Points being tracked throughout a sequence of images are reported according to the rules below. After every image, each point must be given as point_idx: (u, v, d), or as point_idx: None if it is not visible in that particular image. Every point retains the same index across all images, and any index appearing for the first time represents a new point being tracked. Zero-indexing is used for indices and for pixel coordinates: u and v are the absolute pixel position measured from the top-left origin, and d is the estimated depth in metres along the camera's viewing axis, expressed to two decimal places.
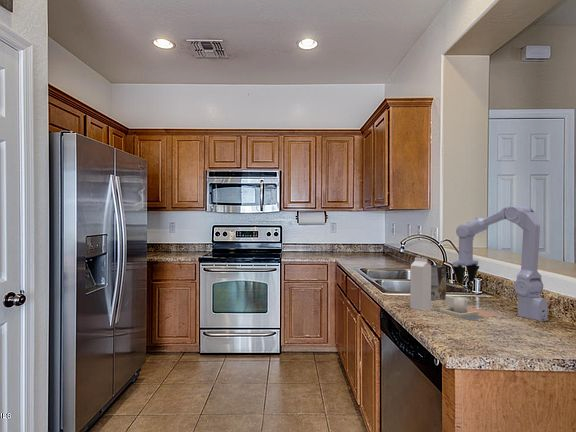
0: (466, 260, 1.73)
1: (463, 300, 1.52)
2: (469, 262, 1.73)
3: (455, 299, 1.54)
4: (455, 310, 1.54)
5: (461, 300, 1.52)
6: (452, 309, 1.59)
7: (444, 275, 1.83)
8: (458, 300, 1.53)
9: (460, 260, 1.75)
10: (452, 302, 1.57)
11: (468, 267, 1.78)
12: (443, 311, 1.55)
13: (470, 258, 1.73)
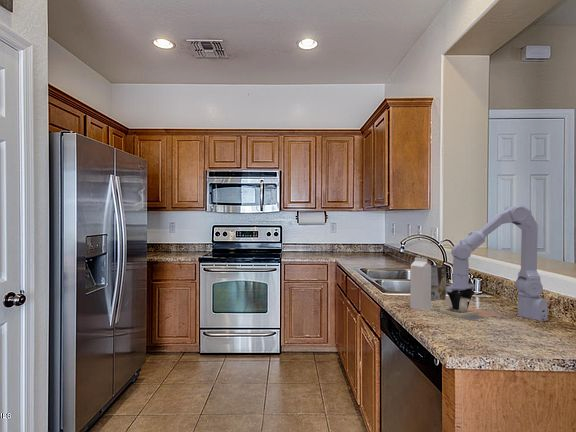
0: (461, 284, 1.52)
1: (463, 300, 1.52)
2: (464, 287, 1.52)
3: None
4: (455, 310, 1.54)
5: (461, 300, 1.52)
6: (452, 309, 1.59)
7: (444, 275, 1.83)
8: None
9: (454, 284, 1.54)
10: None
11: (462, 292, 1.57)
12: (443, 311, 1.55)
13: (465, 282, 1.52)
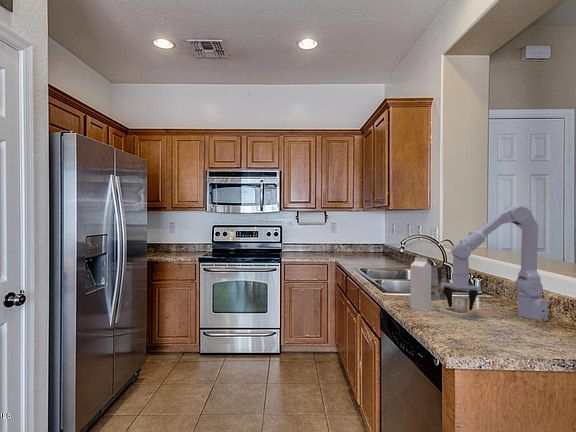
0: (453, 283, 1.55)
1: (455, 299, 1.54)
2: (455, 286, 1.53)
3: None
4: None
5: (454, 299, 1.55)
6: (452, 309, 1.59)
7: (444, 275, 1.83)
8: None
9: None
10: None
11: None
12: (443, 311, 1.55)
13: (457, 281, 1.53)
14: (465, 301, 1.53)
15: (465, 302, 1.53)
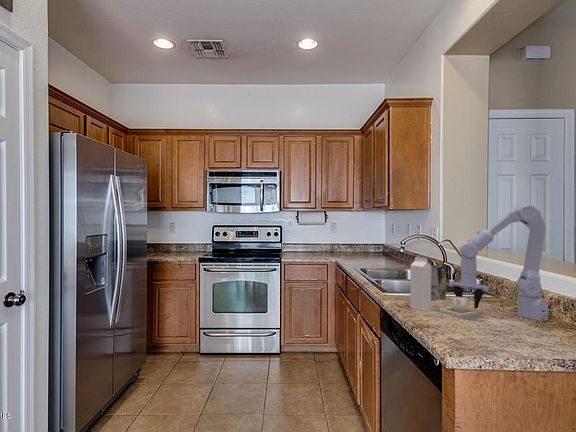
0: (461, 282, 1.57)
1: (455, 299, 1.54)
2: (462, 284, 1.56)
3: None
4: None
5: (454, 299, 1.55)
6: (452, 309, 1.59)
7: (444, 275, 1.83)
8: None
9: None
10: None
11: None
12: (443, 311, 1.55)
13: (464, 280, 1.56)
14: (465, 301, 1.53)
15: (465, 302, 1.53)
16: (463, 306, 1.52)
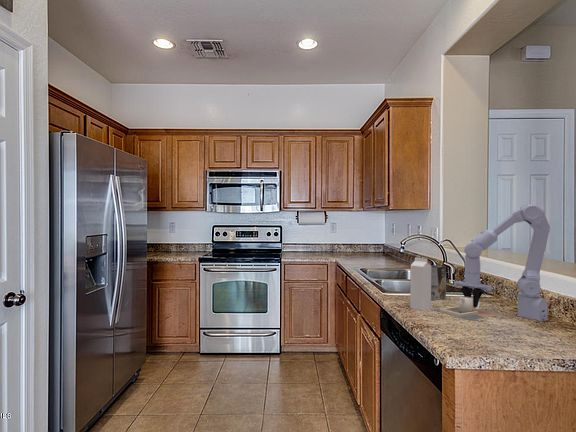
0: (465, 281, 1.59)
1: None
2: (466, 284, 1.57)
3: None
4: None
5: (459, 298, 1.55)
6: (452, 309, 1.59)
7: (444, 275, 1.83)
8: (459, 298, 1.56)
9: None
10: None
11: None
12: (443, 311, 1.55)
13: (468, 280, 1.57)
14: (470, 301, 1.53)
15: (469, 302, 1.53)
16: (467, 306, 1.53)
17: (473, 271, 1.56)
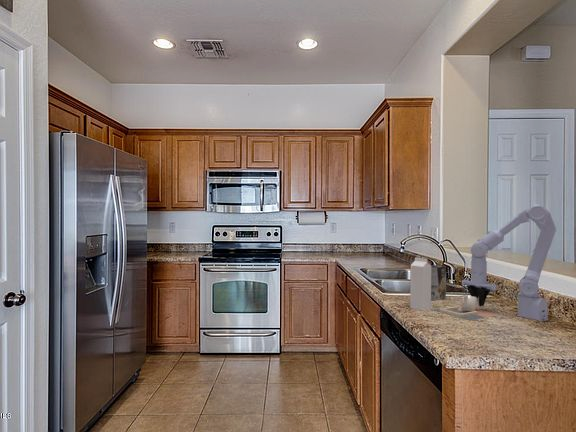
0: (471, 280, 1.61)
1: None
2: (472, 283, 1.60)
3: None
4: None
5: None
6: (452, 309, 1.59)
7: (444, 275, 1.83)
8: None
9: None
10: None
11: None
12: (443, 311, 1.55)
13: (473, 279, 1.59)
14: (473, 298, 1.55)
15: (472, 299, 1.55)
16: (469, 303, 1.54)
17: (478, 270, 1.58)
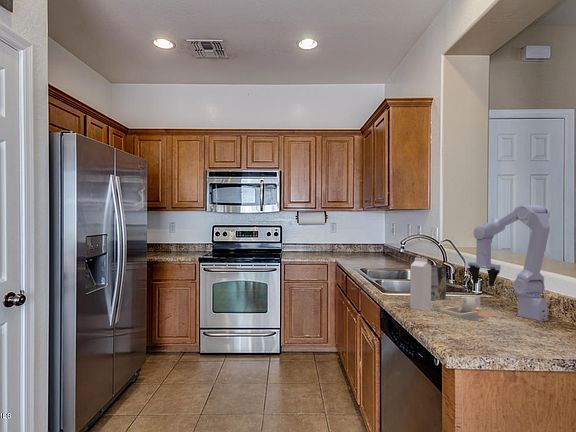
0: (476, 261, 1.73)
1: None
2: (477, 264, 1.72)
3: None
4: None
5: None
6: (452, 309, 1.59)
7: (444, 275, 1.83)
8: None
9: None
10: None
11: None
12: (443, 311, 1.55)
13: (478, 260, 1.72)
14: (471, 300, 1.54)
15: (471, 301, 1.54)
16: (469, 305, 1.54)
17: (478, 252, 1.71)
